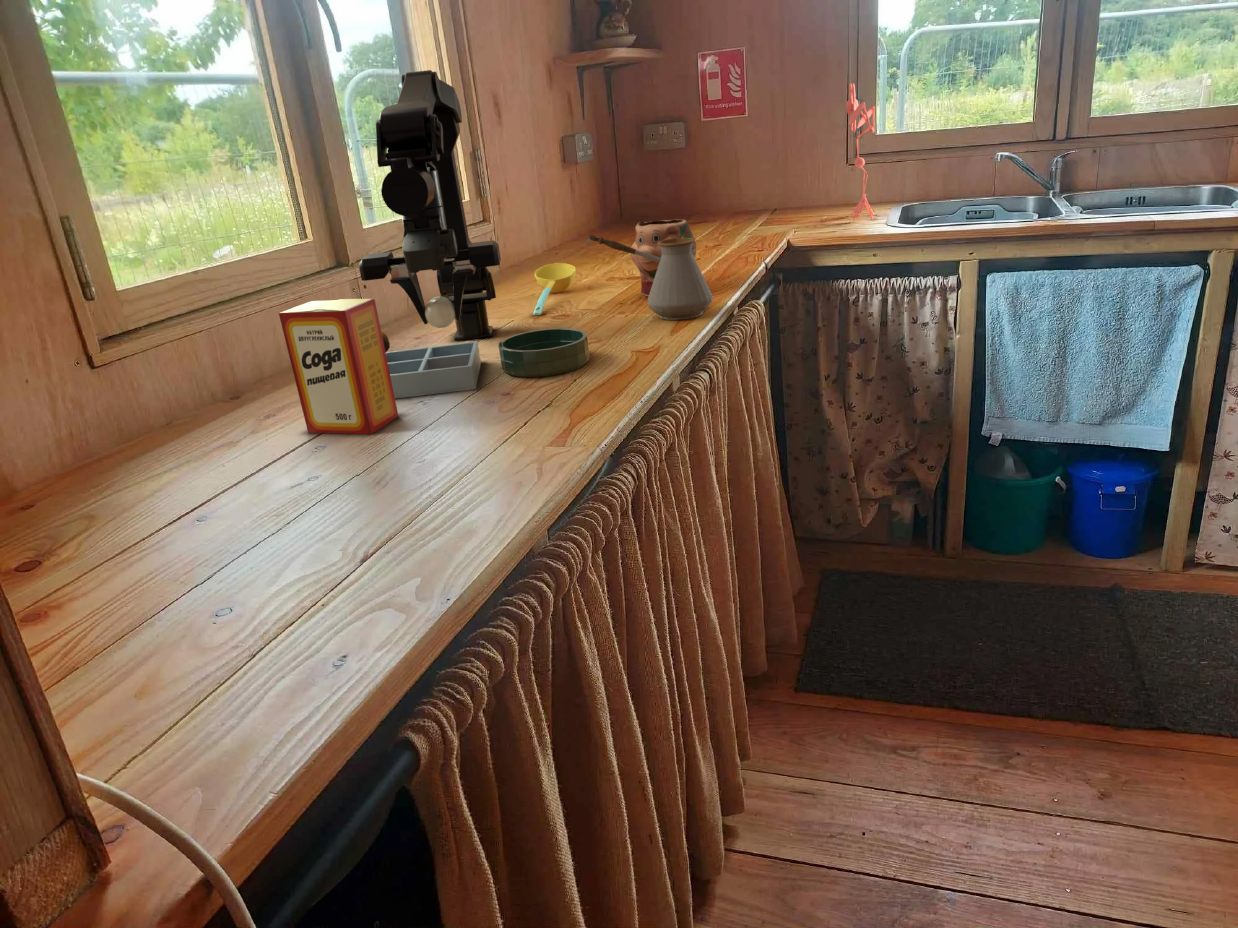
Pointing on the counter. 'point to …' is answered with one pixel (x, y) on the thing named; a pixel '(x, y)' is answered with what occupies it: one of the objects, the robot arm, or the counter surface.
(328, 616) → the counter surface
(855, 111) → the figurine
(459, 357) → the divided tray
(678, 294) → the coffee pot
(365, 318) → the baking soda box
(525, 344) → the bowl
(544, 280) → the ladle
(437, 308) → the egg
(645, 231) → the decorative planter
